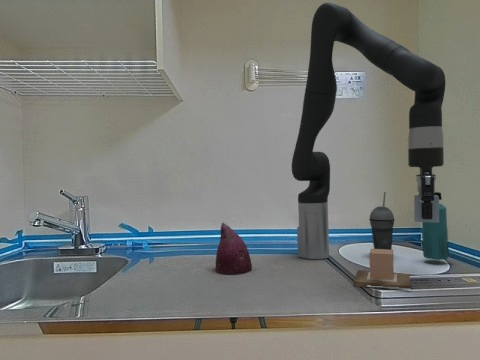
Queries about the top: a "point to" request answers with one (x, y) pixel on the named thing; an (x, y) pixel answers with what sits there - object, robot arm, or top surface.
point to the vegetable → (232, 253)
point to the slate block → (419, 209)
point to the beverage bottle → (436, 236)
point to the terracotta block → (381, 264)
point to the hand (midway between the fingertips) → (426, 217)
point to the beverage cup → (382, 226)
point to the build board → (364, 279)
